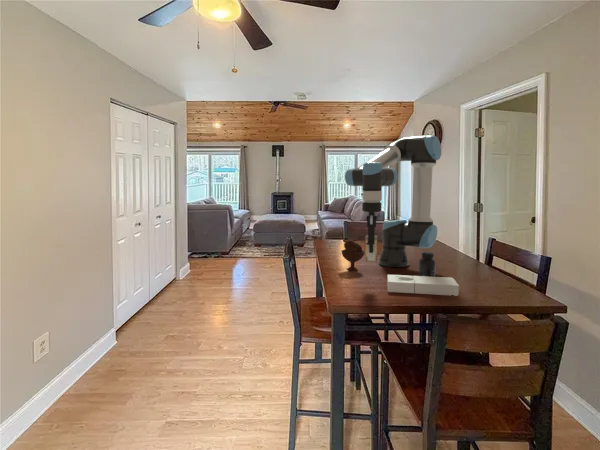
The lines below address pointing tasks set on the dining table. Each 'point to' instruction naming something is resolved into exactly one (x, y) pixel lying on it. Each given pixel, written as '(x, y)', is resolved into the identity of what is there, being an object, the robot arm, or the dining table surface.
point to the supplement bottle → (427, 265)
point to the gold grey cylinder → (375, 249)
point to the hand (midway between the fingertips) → (371, 259)
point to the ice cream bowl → (352, 253)
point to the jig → (422, 285)
